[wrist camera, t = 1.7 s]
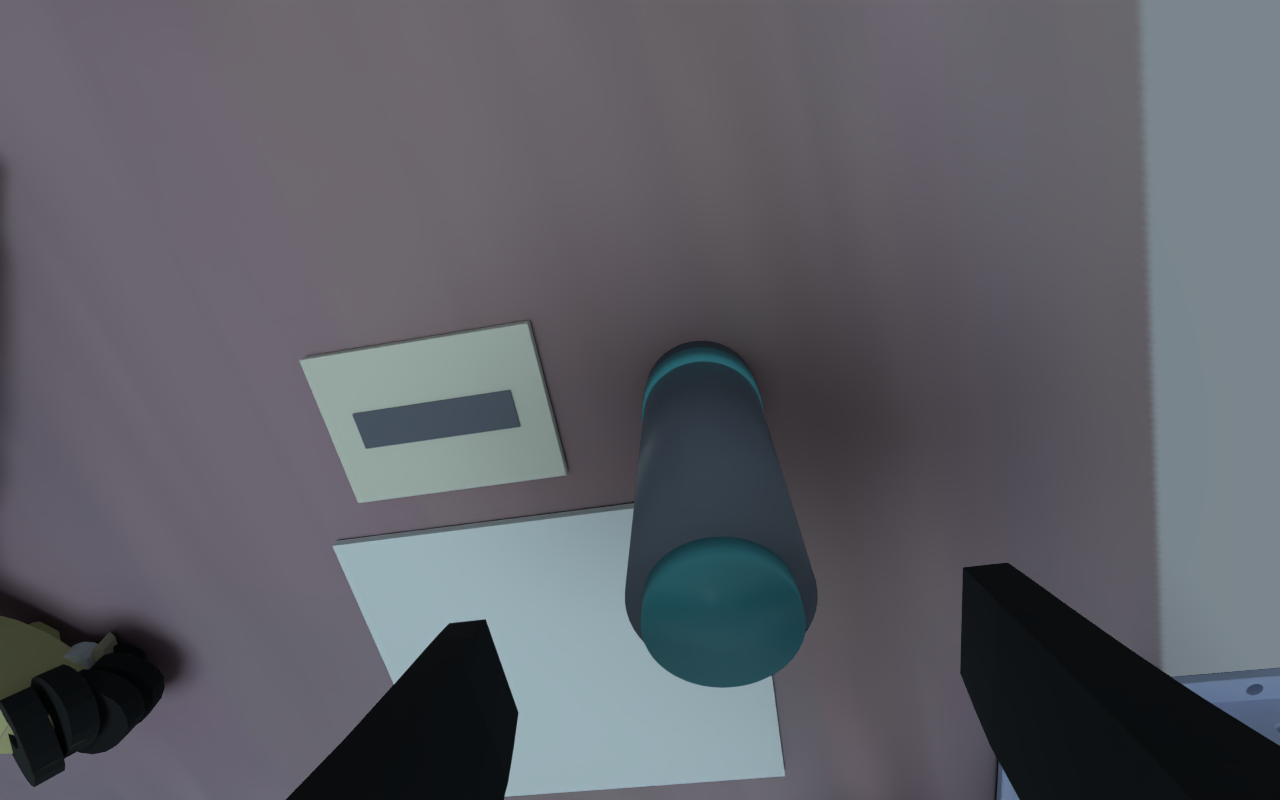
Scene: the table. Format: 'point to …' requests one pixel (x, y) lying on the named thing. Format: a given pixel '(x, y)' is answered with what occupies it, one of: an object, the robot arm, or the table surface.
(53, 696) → the toy
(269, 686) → the table surface
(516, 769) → the paper
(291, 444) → the table surface
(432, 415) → the plate
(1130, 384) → the table surface
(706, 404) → the marker
